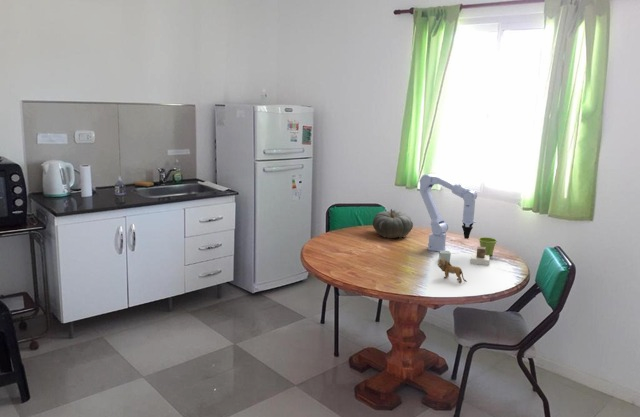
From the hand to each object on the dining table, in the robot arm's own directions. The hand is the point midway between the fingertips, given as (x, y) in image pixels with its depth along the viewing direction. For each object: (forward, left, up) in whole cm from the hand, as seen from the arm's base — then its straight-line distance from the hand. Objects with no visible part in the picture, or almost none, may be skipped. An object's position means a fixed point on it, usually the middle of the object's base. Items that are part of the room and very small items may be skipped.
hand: (466, 236), depth 271 cm
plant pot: (+11, +5, -11) cm, 16 cm away
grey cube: (-10, -15, -10) cm, 21 cm away
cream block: (+8, -9, -11) cm, 16 cm away
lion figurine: (-5, -42, -11) cm, 44 cm away
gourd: (-45, +25, -11) cm, 53 cm away
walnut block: (+8, -9, -8) cm, 14 cm away
